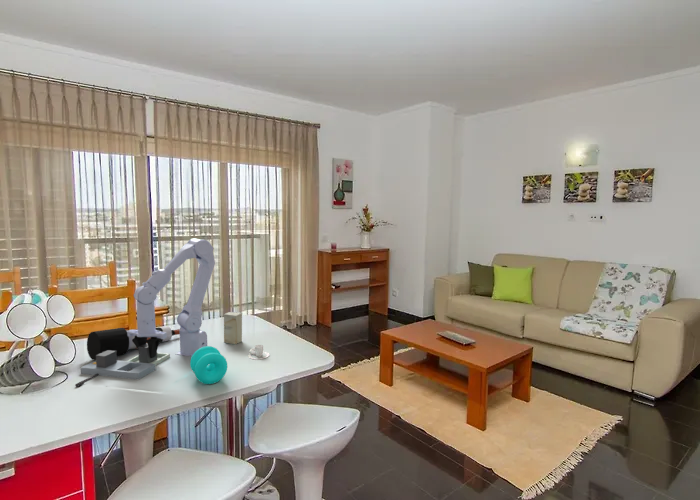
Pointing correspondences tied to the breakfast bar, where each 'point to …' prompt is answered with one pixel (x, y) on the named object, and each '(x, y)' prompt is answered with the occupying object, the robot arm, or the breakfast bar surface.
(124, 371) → the power strip
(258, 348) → the teacup and saucer
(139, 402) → the breakfast bar surface
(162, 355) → the tray
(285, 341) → the breakfast bar surface
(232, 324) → the skincare box
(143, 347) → the plug
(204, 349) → the teal spool
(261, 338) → the breakfast bar surface
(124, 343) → the black white cylindrical piece
